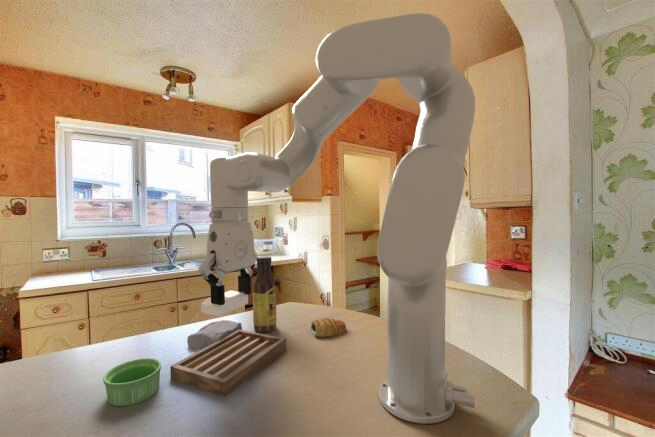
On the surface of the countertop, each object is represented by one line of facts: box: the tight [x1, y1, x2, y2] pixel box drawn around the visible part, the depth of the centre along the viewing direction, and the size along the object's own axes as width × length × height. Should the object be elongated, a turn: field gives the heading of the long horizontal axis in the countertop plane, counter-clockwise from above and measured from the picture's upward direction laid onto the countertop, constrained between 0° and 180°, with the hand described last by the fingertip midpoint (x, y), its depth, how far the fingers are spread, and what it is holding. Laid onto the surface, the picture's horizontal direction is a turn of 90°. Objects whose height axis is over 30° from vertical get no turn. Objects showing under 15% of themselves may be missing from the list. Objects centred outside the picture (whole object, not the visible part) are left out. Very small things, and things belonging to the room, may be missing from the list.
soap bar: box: [200, 290, 249, 317], centre depth 68 cm, size 5×9×3 cm, turn 155°
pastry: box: [310, 317, 347, 338], centre depth 84 cm, size 9×7×4 cm
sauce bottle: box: [252, 255, 277, 333], centre depth 86 cm, size 6×6×20 cm
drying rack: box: [169, 329, 287, 397], centre depth 68 cm, size 14×20×2 cm
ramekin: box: [102, 357, 162, 407], centre depth 57 cm, size 9×9×4 cm
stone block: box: [186, 319, 243, 351], centre depth 79 cm, size 12×5×10 cm
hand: (231, 297), depth 67 cm, fingers closed on soap bar, 7 cm apart
